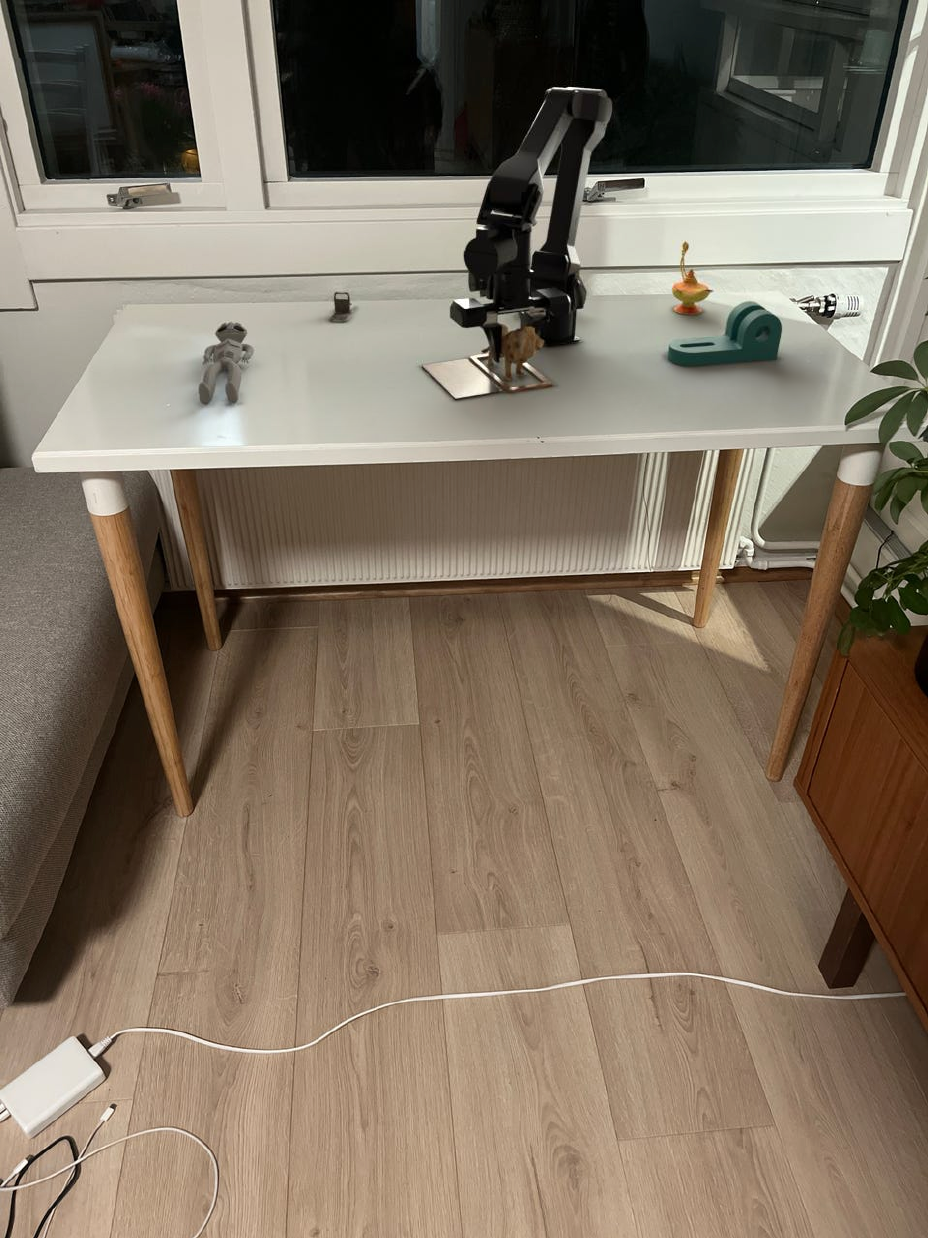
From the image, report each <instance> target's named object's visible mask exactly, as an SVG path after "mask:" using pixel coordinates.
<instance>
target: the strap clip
mask: <svg viewBox="0 0 928 1238" xmlns="http://www.w3.org/2000/svg"><path fill="white" fill-rule="evenodd" d="M337 295H346V296H347V298H337ZM333 304H334V305H333V306H334V311H335V312H334V314H333V315H332V316H331V321H332V322H346V321H348V320H349V318H350V314H352V313H353V311H354V310H355V303H351V296H350V293H349V292H347V291H335V292H334V294H333Z"/></svg>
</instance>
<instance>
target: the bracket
mask: <svg viewBox="0 0 928 1238" xmlns="http://www.w3.org/2000/svg"><path fill="white" fill-rule="evenodd" d="M782 335H783V324H782V321H781V319H780V318H779V317H778V316H777V315H775V314H774V313H772V312H771V311H769V310H767V309H766V308H765V307H763V306H762V305H761V304H759V303H757V302H756V301H752V300H746V301H743V302H741V303H739V304H737V305H736V306H735V307H734V308H733V309H732V310H731V311H730V312H729V314H728V317H727V319H726V324H725V331H724V334H722V335H712V336H711V335H709V336H698V337H685V338H677V339H672V340H671V341H670V342H669V343H668V350H667V360H668V361H670V362H671V363H673V364H675V365H678V366H679V365H681V366H686V367H696V366H709V365H721V364H732V363H733V364H734V363H746V362H757V361H769V360H777V359H778V353H779V351H780V344H781V340H782Z"/></svg>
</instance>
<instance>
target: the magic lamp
mask: <svg viewBox="0 0 928 1238" xmlns="http://www.w3.org/2000/svg"><path fill="white" fill-rule="evenodd" d="M681 247H682V250H681V258H680V262H679V267H680V274H681V279H682V281H679V282H676V283H674V284H673V285H672V287H671V293H672V295H673V296H674V298H675V299H677V300H678V301H680V302H682V303H681V304H680V305H678V306H675V307H674V308H673V311H674V312H675V313H678V314H682V315H688V316H689V315H698V314H701V312H702V309H701V308H699V306H697V305H696V303H699V302H700V303H701V302H702V301H704V300H705V299H707V298H708V297H709V295H710V294H711V293H713V292H714V289H709V286H707V285H706V284H704V283H701V282H698V279H697V277H696V276H695V271H694V269H693V268H690V269H689V270H688V271H686V267H685V265H686V264H685V255H686V253H687V252H688V251H689V249H690V244H689V243H688V242H687V241H686V240H684V242H683V243H682V245H681Z"/></svg>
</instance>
